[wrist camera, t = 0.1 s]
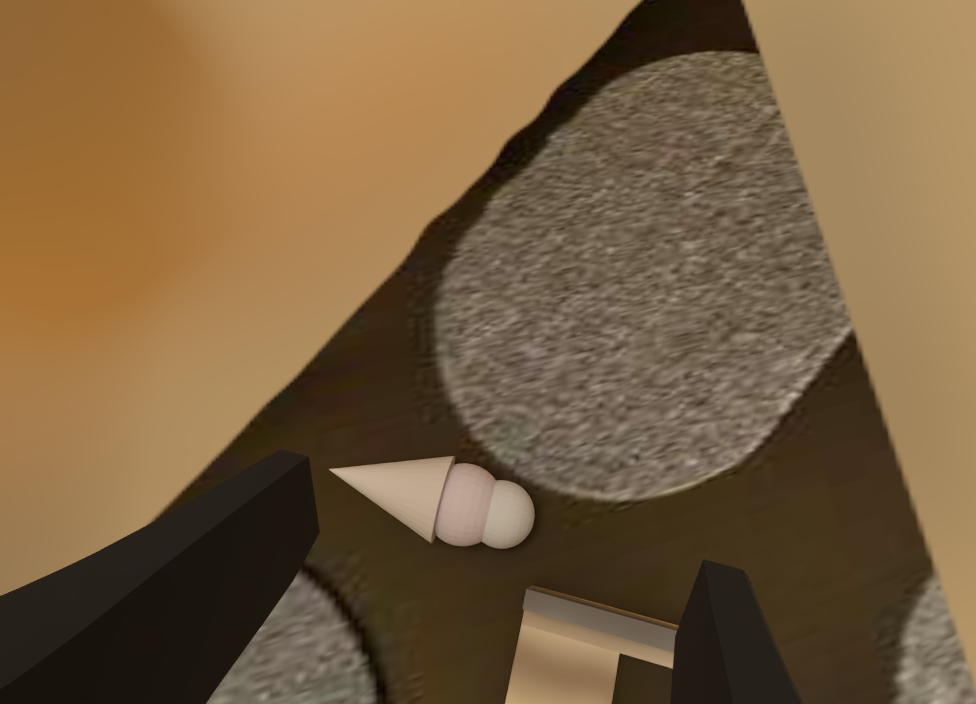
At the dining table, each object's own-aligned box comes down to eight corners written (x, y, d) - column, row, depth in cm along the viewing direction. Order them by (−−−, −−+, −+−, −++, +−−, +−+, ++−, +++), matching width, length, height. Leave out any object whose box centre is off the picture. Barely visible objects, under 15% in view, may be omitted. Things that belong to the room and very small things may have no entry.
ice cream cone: (344, 469, 44) (530, 516, 43) (310, 530, 39) (519, 586, 38) (346, 410, 41) (547, 460, 40) (308, 469, 36) (537, 528, 35)
